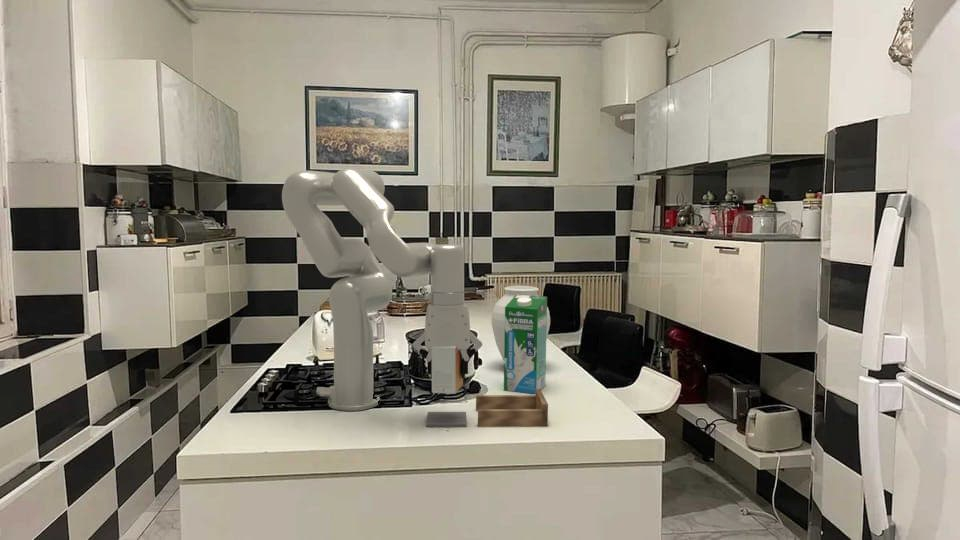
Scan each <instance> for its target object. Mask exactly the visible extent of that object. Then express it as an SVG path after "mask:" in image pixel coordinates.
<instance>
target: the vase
mask: <svg viewBox="0 0 960 540" xmlns="http://www.w3.org/2000/svg"><path fill="white" fill-rule="evenodd" d="M503 289H504V291H505V293H504V294H503V296H502V297H501V298H500V299H499V300H498V301H496V303H495V306H494V308H493V310H492V314H491V326H492V331H493V336H494V340H495V341H494V342H495V345H496V347H497V349H498V351H499V354H500V356H501V359H502V361H504V342H505V307H506V305H507V304H508V303H509V302H510V301H511V300H512V299H513V298H514V297H515V295H529V296H539V294H538V292H539V291H540V290H539V288H538V287H536V286H531V285H508V286H505V287H504V288H503ZM550 326H551V315H550V310H549V307H548V306H547V328H546V341H547V340H548V335H549V330H550Z"/></svg>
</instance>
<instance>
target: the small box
mask: <svg viewBox="0 0 960 540" xmlns="http://www.w3.org/2000/svg"><path fill="white" fill-rule="evenodd" d="M431 349H432V379H431V393H433V394H447V395H448V394H449V395H450V394H457V392H458V391H460V389H461V388H462V387H463V386H464V379H463V378H462V358H463V356H462V354H461V352H460V350H457V346H441V347H431Z"/></svg>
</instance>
